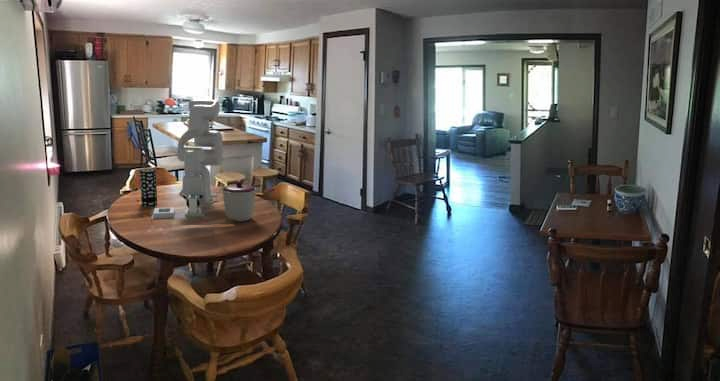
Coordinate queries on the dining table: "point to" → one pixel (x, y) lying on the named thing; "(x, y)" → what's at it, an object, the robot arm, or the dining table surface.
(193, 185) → the robot arm
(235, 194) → the canister
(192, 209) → the plug
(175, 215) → the patch panel
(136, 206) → the dining table surface
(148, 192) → the white-spotted black cylinder
